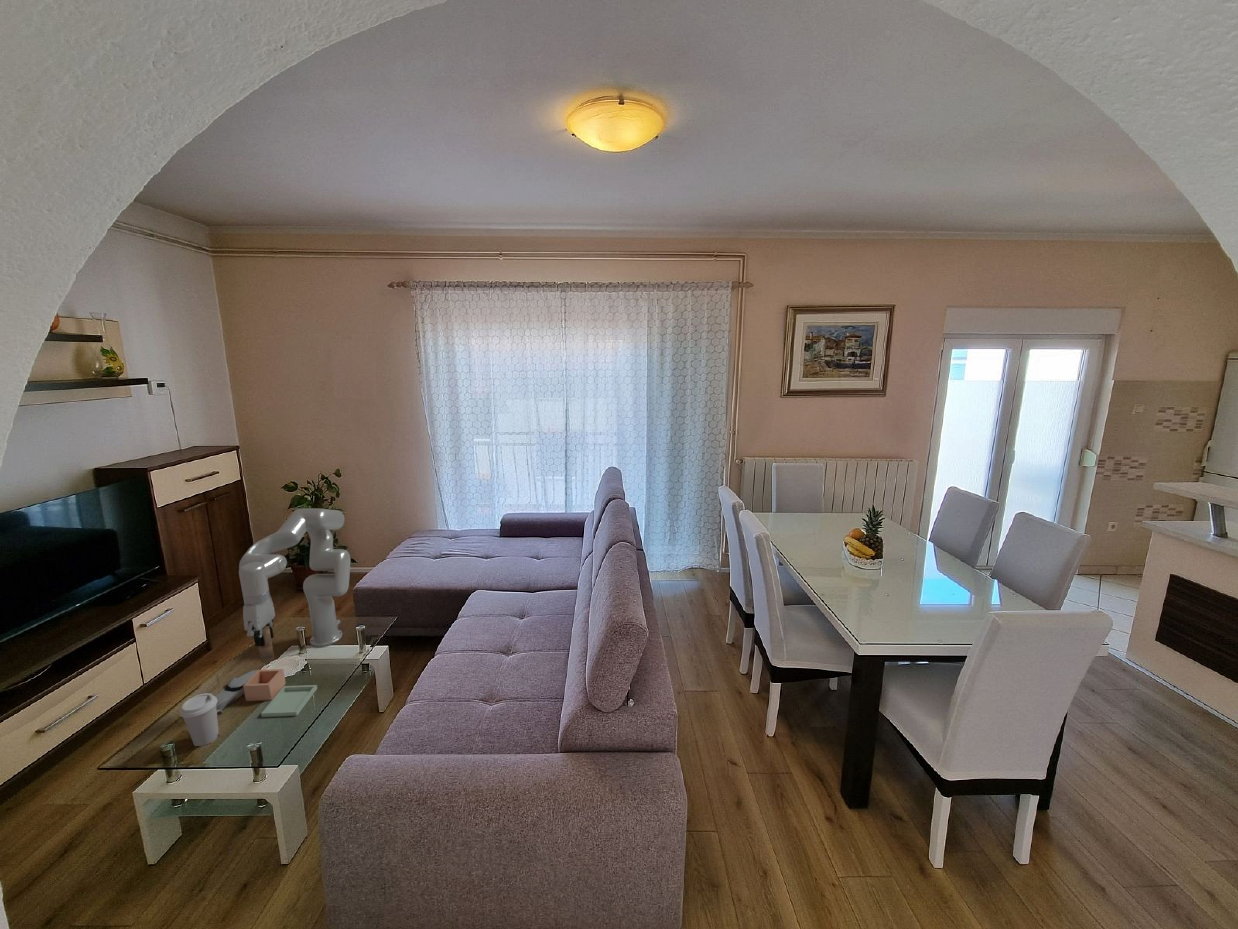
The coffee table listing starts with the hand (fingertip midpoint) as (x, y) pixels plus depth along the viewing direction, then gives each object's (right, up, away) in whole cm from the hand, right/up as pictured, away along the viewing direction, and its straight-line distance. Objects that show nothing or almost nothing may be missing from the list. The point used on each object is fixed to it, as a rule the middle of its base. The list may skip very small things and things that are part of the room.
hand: (264, 641), depth 176 cm
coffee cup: (-10, -29, -13) cm, 33 cm away
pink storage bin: (-5, -23, +8) cm, 25 cm away
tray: (+7, -25, +3) cm, 26 cm away
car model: (-17, -24, +6) cm, 30 cm away
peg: (0, -8, +2) cm, 8 cm away
